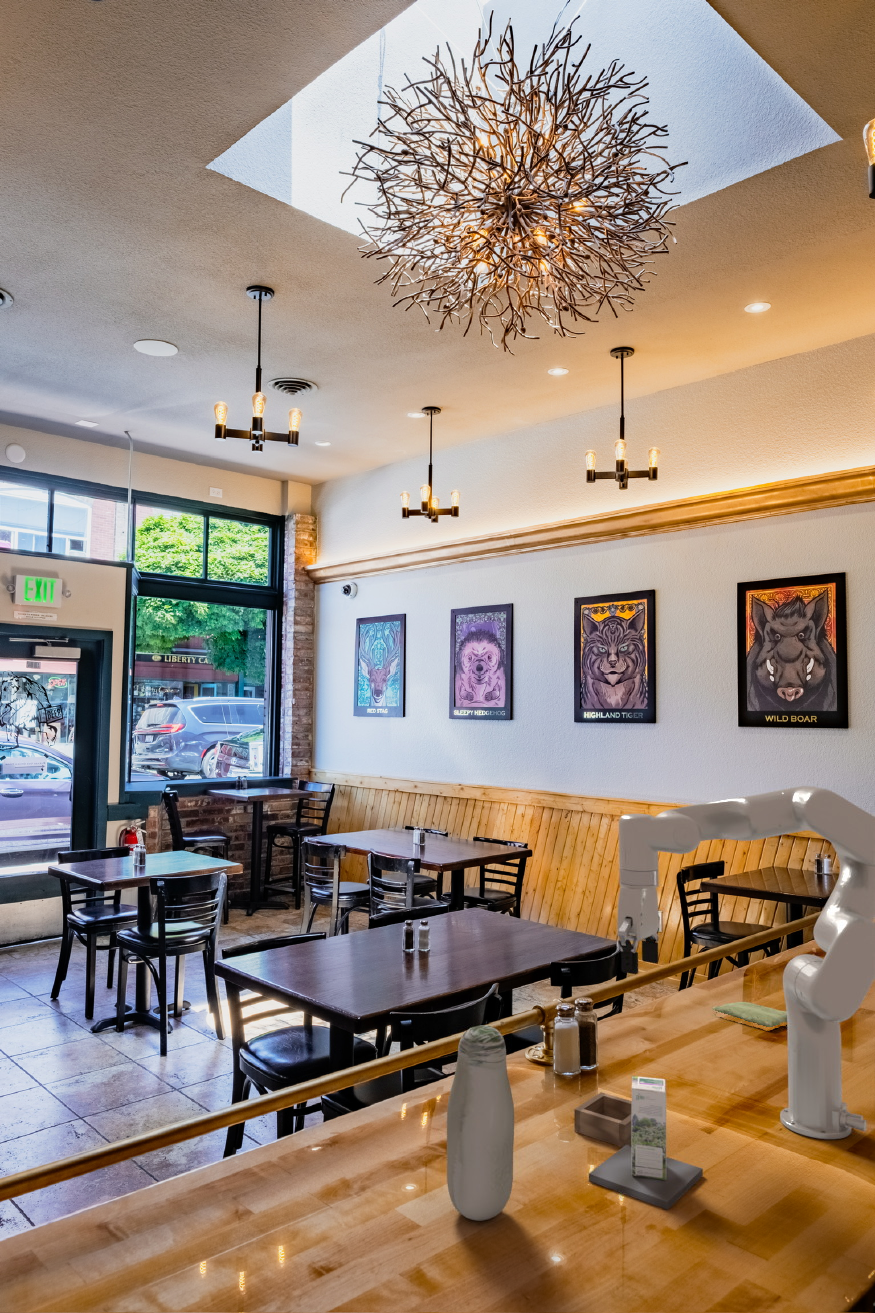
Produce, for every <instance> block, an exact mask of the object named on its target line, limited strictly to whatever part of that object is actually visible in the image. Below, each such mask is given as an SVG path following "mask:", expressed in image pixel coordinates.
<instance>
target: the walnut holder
mask: <svg viewBox="0 0 875 1313" xmlns="http://www.w3.org/2000/svg"><path fill="white" fill-rule="evenodd" d="M573 1111H574V1119H573V1120H574V1121H573V1123H574V1128H573V1129H574V1130H573V1131H574V1132H575V1133H579V1134H582V1135H584V1136H586V1137H587V1136H588V1137H590V1138H593V1139H597V1140H599V1141H603V1142H606V1143H609V1144H612V1145H614V1146H618V1147H621V1148H623V1147H624V1146H625V1145H626V1144H630V1145H632V1100H629V1099H626V1098H622V1097H619V1096H615V1095H611V1094H608V1093H605V1092H601V1091H600V1092H599V1093H597V1094H596V1095H594V1096H593V1097H591V1098H590V1099H588V1100H587V1101H585V1102H584V1103H582V1104H581V1105H579V1106H577V1107H576V1108H574V1110H573Z"/></svg>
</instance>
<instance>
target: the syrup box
mask: <svg viewBox="0 0 875 1313" xmlns="http://www.w3.org/2000/svg"><path fill="white" fill-rule="evenodd" d="M666 1083H667V1081H666V1079H664V1078H658V1077H657V1078H655V1077H646V1076H637V1075H632V1078H631V1101H632V1143H631V1145H632V1176H638V1177H645V1178H653V1179H661V1180H666V1157H667V1084H666Z"/></svg>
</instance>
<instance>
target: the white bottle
mask: <svg viewBox="0 0 875 1313" xmlns="http://www.w3.org/2000/svg"><path fill="white" fill-rule="evenodd" d="M457 1047H458V1048H457V1049H458V1050H457V1060H456V1067H455V1072H454V1076H453V1081H452V1085H451V1087H450V1091H449V1095H448V1101H447V1109H446V1182H447V1190H448V1193H449V1194H448V1195H449V1198H450V1202H452V1203H451V1204H452V1205H453V1207H454V1208H455V1210H456V1211H457V1212H458V1213H459V1214H460V1215H461V1216H463V1217H464V1218H467V1219H469V1220H472V1221H477V1222H478V1221H479V1222H480V1221H486V1220H490V1219H492V1218H494V1217H497V1215H499V1214H500V1213H501V1212H502V1211H503V1210H504V1209H505V1207H506V1205H507V1204H508V1201H509V1199H510V1197H511V1193H512V1189H513V1181H514V1180H513V1179H514V1143H515V1107H514V1100H513V1094H512V1089H511V1085H510V1084H511V1083H510V1080H509V1077H508V1068H507V1067H508V1066H507V1049H506V1042H505V1039H504V1036H503V1035H502V1034H501V1032H500V1031H499V1030H498V1029H497V1028H494V1027H493V1026H491V1025H487V1024H486V1025H485V1024H484V1025H477V1026H472V1027H470V1028H469V1029H467V1030H466V1031H465V1032H464V1033H463V1034H462V1035H461V1038H460V1039H459V1043H458V1046H457Z"/></svg>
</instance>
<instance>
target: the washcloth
mask: <svg viewBox="0 0 875 1313" xmlns="http://www.w3.org/2000/svg"><path fill="white" fill-rule="evenodd" d="M713 1010H715V1011H718V1012H721V1013H724V1014H728V1015H731V1016H733V1017H737V1018H740V1019H744V1020H745V1021H748V1022H753V1023H757V1024H758V1025H763V1026H766V1027H773V1026H776V1025H780V1023H783V1022H787V1010H779V1009H776V1008H773V1007H767V1006H764V1005H763V1006H762V1005H759V1004H756V1003H753V1002H747V1001H737V1002H729V1003H724V1004H722V1005H721V1006H718V1005H717V1006H713V1007H712V1011H713Z"/></svg>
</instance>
